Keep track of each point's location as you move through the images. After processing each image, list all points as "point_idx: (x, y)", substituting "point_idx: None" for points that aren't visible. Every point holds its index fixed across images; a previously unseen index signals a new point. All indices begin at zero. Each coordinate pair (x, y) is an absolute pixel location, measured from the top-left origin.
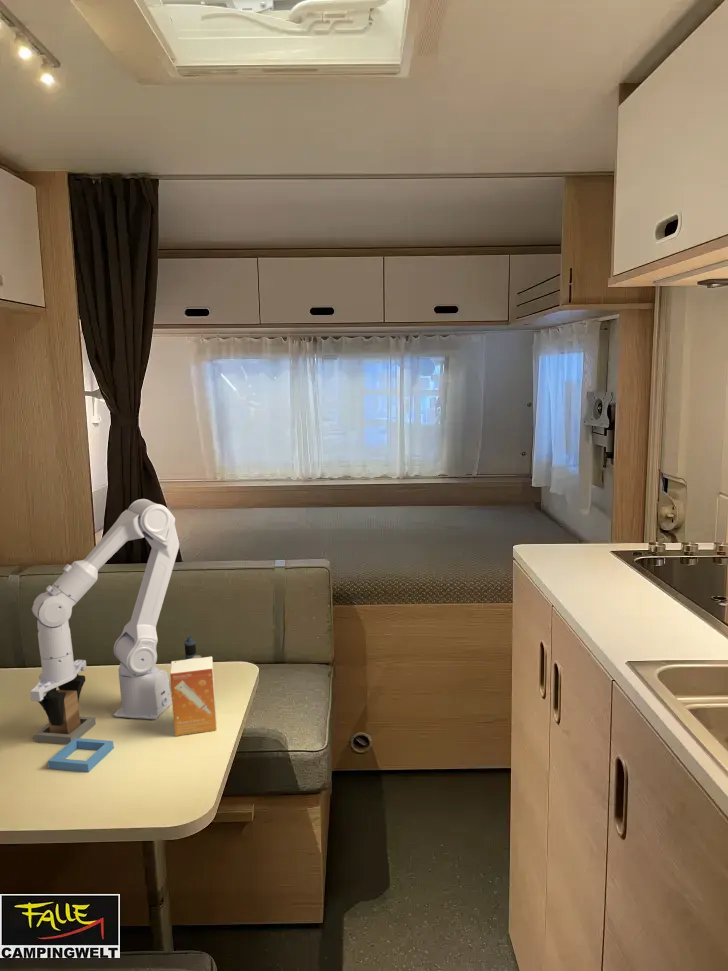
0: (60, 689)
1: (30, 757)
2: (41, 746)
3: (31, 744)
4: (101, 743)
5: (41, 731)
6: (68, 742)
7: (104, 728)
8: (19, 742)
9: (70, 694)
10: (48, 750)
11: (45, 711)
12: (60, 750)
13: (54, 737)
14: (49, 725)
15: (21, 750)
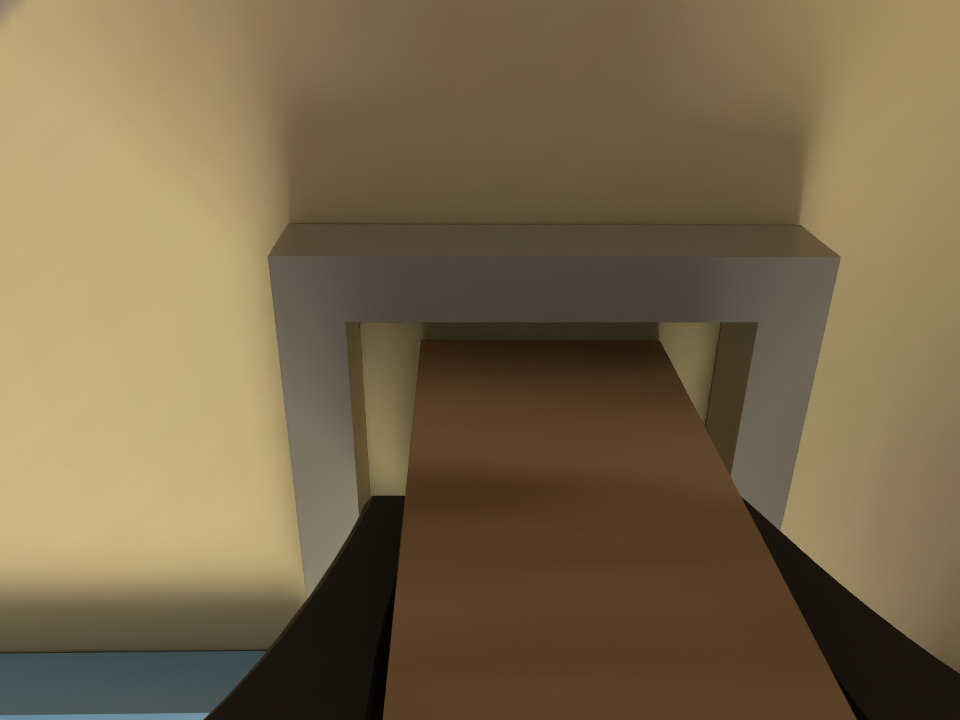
0: None
1: (3, 393)
2: (224, 365)
3: (228, 222)
4: None
5: (361, 307)
6: None
7: None
8: (225, 20)
9: None
10: (180, 480)
11: (282, 638)
12: (78, 714)
13: (298, 510)
14: (414, 421)
15: (76, 194)
